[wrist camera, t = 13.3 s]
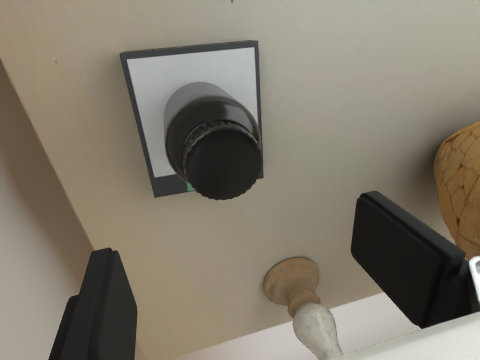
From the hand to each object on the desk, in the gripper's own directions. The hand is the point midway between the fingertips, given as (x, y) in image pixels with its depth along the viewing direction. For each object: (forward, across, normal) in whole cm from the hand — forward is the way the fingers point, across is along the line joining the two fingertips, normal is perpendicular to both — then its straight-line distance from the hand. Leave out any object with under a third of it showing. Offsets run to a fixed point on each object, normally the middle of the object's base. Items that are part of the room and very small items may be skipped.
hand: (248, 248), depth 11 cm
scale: (+22, -1, 0) cm, 22 cm away
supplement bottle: (+19, -1, 0) cm, 19 cm away
